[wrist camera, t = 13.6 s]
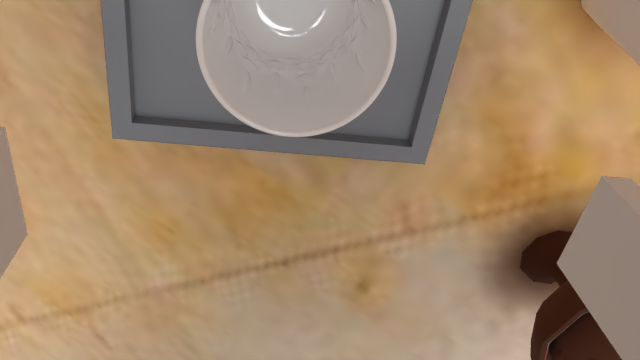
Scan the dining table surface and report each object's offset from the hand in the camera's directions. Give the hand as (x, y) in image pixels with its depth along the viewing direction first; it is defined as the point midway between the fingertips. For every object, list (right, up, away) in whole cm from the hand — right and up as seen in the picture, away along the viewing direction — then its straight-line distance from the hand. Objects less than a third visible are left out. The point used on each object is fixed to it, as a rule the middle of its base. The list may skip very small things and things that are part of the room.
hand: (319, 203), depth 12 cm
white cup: (-2, +11, +17) cm, 20 cm away
